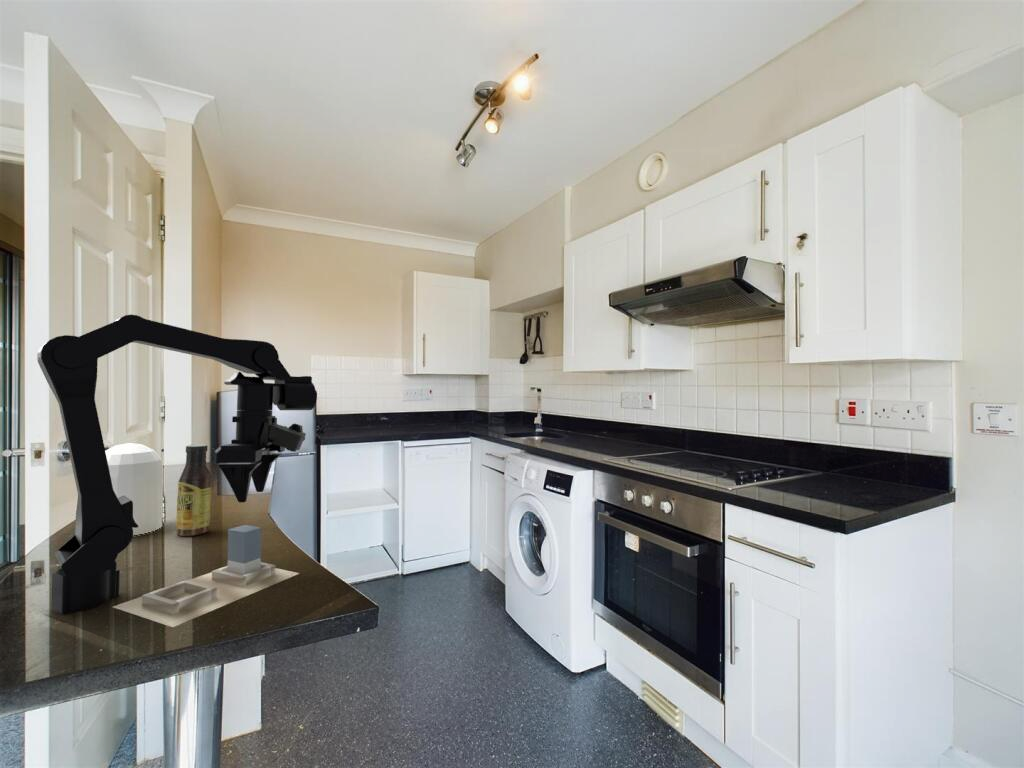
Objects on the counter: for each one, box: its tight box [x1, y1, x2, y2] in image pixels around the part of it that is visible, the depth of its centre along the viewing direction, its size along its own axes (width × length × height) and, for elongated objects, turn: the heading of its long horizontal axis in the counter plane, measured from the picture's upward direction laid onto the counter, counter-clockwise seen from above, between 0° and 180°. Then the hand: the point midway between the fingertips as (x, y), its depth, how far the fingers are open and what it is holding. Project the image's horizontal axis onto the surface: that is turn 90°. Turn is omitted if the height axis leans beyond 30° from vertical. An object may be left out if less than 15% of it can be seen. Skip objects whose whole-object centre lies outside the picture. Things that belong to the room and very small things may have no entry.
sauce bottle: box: [175, 443, 212, 537], centre depth 104 cm, size 7×6×20 cm
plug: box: [226, 524, 262, 575], centre depth 77 cm, size 3×4×8 cm
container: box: [105, 442, 164, 536], centre depth 106 cm, size 14×13×20 cm
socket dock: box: [112, 561, 300, 628], centre depth 72 cm, size 20×14×2 cm
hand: (251, 496), depth 84 cm, fingers open, 9 cm apart
